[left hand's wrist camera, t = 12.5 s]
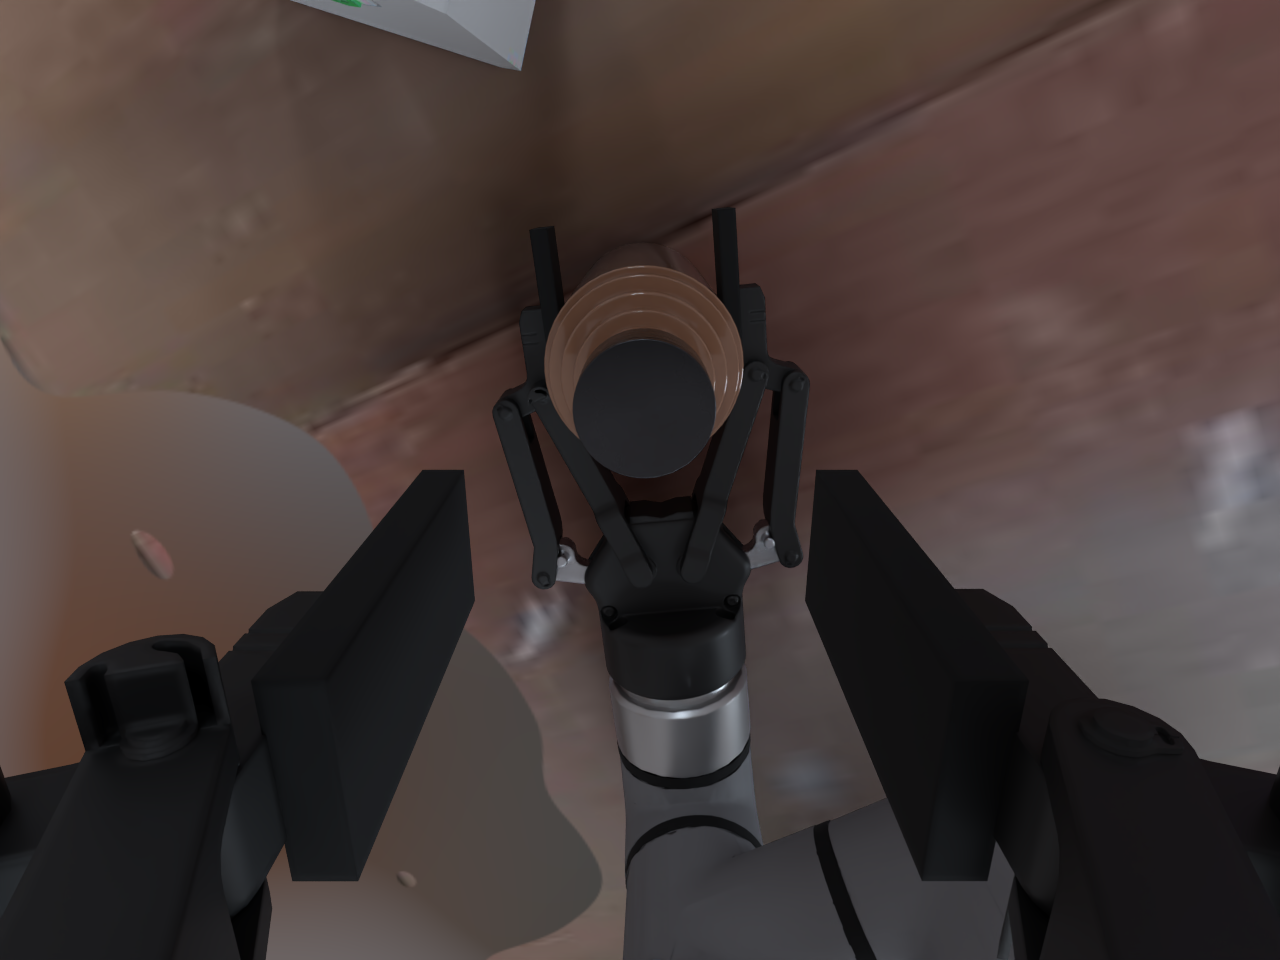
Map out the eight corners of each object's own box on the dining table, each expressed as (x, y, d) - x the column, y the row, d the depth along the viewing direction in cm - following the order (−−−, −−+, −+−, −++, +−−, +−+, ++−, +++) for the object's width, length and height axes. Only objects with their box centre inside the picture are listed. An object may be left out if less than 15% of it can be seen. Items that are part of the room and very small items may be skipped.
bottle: (689, 224, 39) (732, 248, 21) (724, 356, 41) (791, 484, 23) (558, 266, 40) (485, 324, 21) (600, 393, 42) (567, 546, 24)
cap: (690, 310, 23) (694, 320, 21) (725, 437, 24) (732, 456, 22) (559, 350, 23) (552, 363, 21) (601, 472, 24) (597, 494, 23)
